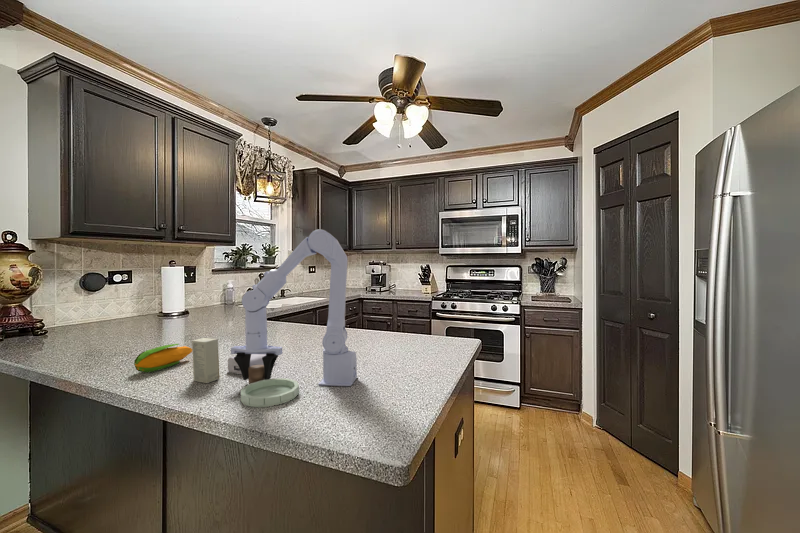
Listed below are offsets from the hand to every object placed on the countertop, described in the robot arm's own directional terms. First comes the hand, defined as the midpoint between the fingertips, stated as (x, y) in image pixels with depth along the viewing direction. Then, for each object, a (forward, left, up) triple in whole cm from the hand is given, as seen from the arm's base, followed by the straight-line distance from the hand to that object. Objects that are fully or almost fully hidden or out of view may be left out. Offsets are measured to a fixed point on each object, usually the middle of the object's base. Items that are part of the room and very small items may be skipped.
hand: (257, 379), depth 99 cm
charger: (+8, -16, -2) cm, 18 cm away
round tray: (-8, +8, -1) cm, 11 cm away
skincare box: (+17, -2, -2) cm, 17 cm away
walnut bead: (0, 0, -2) cm, 2 cm away
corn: (+39, -13, -2) cm, 42 cm away
